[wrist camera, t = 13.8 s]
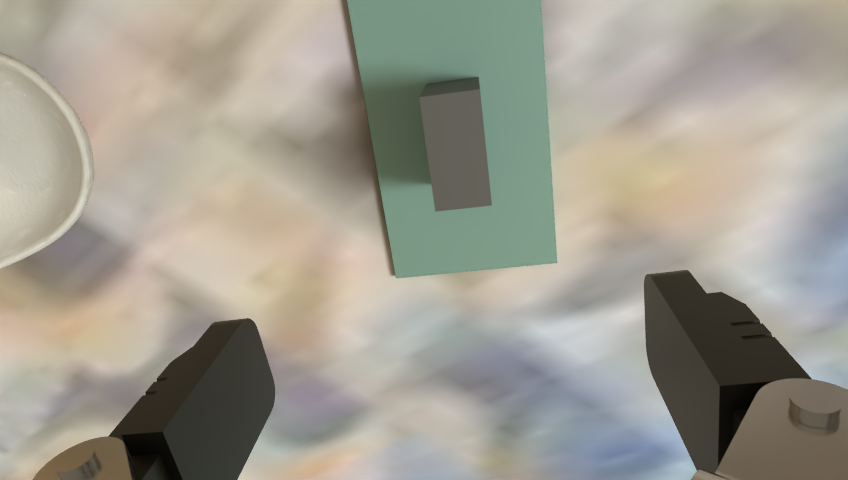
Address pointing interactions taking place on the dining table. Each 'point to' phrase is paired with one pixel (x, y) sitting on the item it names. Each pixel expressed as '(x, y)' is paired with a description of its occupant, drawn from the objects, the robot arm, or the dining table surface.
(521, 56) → the cover plate
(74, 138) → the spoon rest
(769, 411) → the robot arm
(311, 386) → the dining table surface
